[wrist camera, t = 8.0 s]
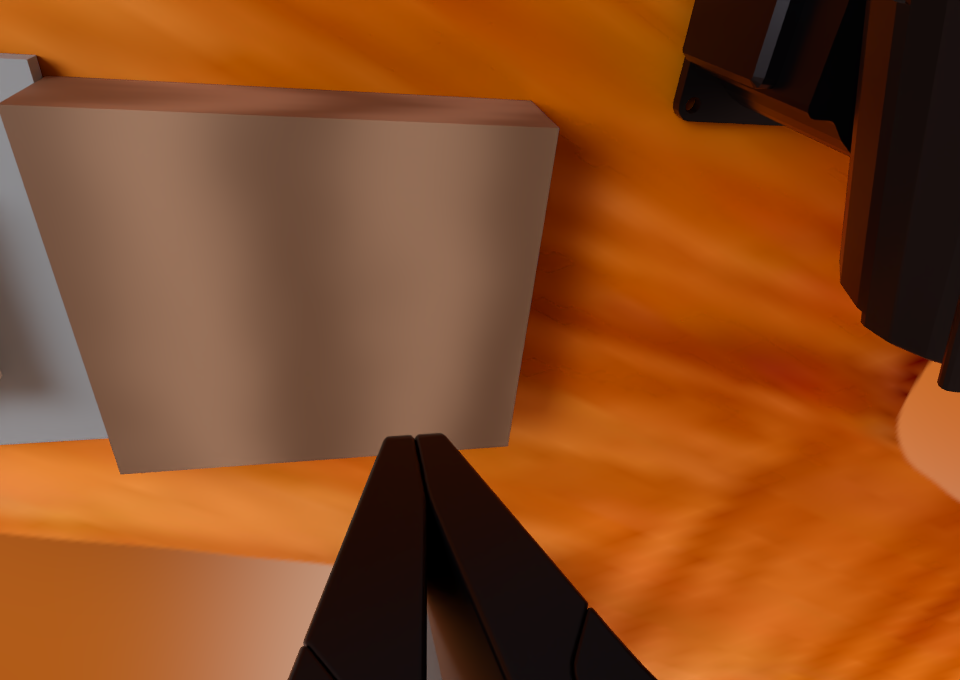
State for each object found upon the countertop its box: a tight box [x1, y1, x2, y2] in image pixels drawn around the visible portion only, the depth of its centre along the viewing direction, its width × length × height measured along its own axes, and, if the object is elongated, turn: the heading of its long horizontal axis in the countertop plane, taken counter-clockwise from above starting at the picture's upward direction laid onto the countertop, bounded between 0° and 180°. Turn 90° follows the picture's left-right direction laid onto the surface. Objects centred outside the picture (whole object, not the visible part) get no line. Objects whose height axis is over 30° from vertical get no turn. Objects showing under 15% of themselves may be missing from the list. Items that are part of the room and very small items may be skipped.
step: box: [0, 76, 559, 474], centre depth 20 cm, size 14×12×3 cm
